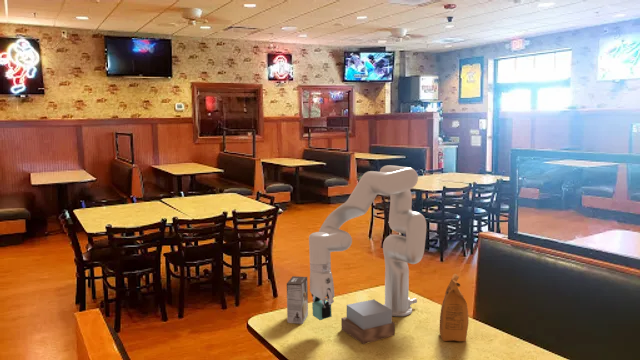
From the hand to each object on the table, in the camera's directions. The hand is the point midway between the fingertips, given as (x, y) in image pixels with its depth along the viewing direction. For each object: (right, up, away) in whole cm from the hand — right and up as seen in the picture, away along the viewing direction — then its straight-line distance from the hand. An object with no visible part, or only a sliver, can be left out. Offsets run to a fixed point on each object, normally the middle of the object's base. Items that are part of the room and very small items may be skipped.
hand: (322, 314), depth 179 cm
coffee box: (-9, -6, +15) cm, 19 cm away
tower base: (+17, -8, +2) cm, 19 cm away
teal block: (0, -1, 0) cm, 1 cm away
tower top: (+17, -3, +2) cm, 18 cm away
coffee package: (+48, -8, -1) cm, 48 cm away
